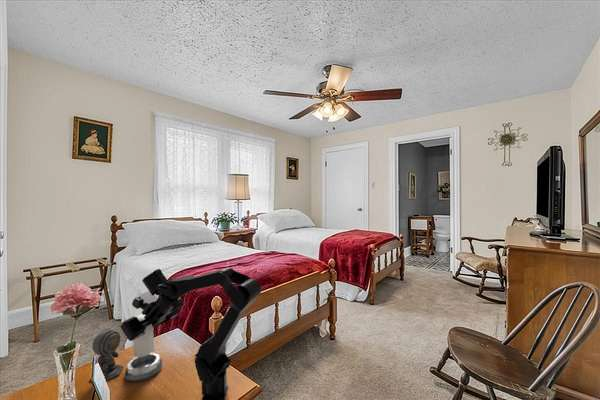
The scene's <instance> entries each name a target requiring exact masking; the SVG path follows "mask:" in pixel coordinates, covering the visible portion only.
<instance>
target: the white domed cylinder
mask: <svg viewBox="0 0 600 400" xmlns="http://www.w3.org/2000/svg"><path fill="white" fill-rule="evenodd" d="M144 316H145V315H143V314H142V313H141V314H138V315H136V316H135V317H137V318H138V320H139V321H143V320H145V318H144ZM146 324H147V323H146ZM144 325H145V324H144ZM144 332H145V334H144V335H142V336H140V337H138V338H136V339H134V340H133V341H132V343H133V356H134V358H135V357H144V356H147V355H149V354H151V353H154V352H155V345H154V344H155V343H154V339H155V338H154V327H153V326H152V325H149V326H148V327H146V329H145V330H144Z"/></svg>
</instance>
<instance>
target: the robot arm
mask: <svg viewBox="0 0 600 400" xmlns="http://www.w3.org/2000/svg"><path fill="white" fill-rule="evenodd" d="M141 281H142V283H143V285H144V286H145V287H146V289H147V290H148V291H146V292H142V293H140V294H138V296H137V295H136V297H134V299H132V302H131V305H132V307H133V308H135V309H136V310H138V309H141V310H142V311H141V315H142V314H143V315H145V316H144V318H145V320H143V321H139V320H138V318H137V317H136V316H132V317H130V318H128V319H125V320H124V321H123V322H122V323H121V324H120V329H121V331H122V332H123V333H124V335H125V336H126V338H127V340H128V341H129V342H130V341H131V342H133V340H134V339H136V338H138V337H140V336H142V335H144V334H145V332H144V330H145V329H146V327H148V326H149V325H152V326H153V328H156V327H159V326H161V325H163V324H165V323H167V322H169V321H170V320H171V319H173V318H174V319H175V317H177V316H178V315H179V314H180V308H181V307H184V304H185V303H184V301H183V298H181V297H183V296H184V295H186V294H188V293H191V292H192V291H197V290H200V289H204V288H209V287H213V286H217V285H219V286H221V287H222V290H223V291H224V293H225V295H226V296H227V297H228V298H229V308H228V309H227V311H226V313H225V314H224V316H223V319H222V320H221V322H220V323H219V326H218V328H217V329H216V331H215V333H214V335H213V336H211V337H210V338H208V339H207V340H206V341H205V342H203V343H202V344H201V345H199V348H198V350H197V352H196V354H195V355H194V357H195V358H194V365H195V369H196V373H197V376H198V377H197V378H198V379H199V382H201V395H202V397H201V398H202V399H201V400H225V399H226V398H225V397H226V394H227V390H228V386H229V383H228V382H227V381H228V380H227V378H228V377H227V369H229V368H230V366H231V362H232V361H231V358H230V357H229V356H228V355H227V354H226V351H227V347H226V345H227V342H228V341H229V340H230V338H231V335H232V334H233V332H234V331H235V329H236V327H237V325H238V323H239V322H240V321H241V318H242V317H243V314H244V313H245V311H246V310H247V309H248V308H249V307H250V306H251V305H252V304H253V303H254V302H255V301H256V300H257V299H258V298H259V296H260V295H261V293H262V288H261V284H260V282H259V281H257V280H256V279H255V278H254V279H253V278H252V277H250V276H248V275H247V274H244V273H241V272H239V271H236V270H235V269H233V268H232V267H229V266H228V267H225V268H223V269H219V270H215V271H212V272H207V273H204V274H203V273H202V274H200V275H196V276H195V275H192V274H191V275H190V274H189V275H187V274H186V275H181V276H180V277H177V278H173V279H170V280H168V278H167V277H166V276H165V275H164V273H163V272H162V270H161V269H160V268H157V269H155V270H153V272H151V273H149V274H148V275H146V276H145V277H143V279H142V280H141ZM236 285H237V286H236ZM157 296H158V297H157ZM146 323H147V324H146ZM144 324H145V325H144Z"/></svg>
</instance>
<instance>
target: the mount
mask: <svg viewBox="0 0 600 400" xmlns="http://www.w3.org/2000/svg"><path fill="white" fill-rule="evenodd" d="M162 369H163V360H162V359H161V358H160V354H158V353H156V352H152V353H151V354H149V355H147V356H144V357H135V356H134V358H132V359H131V360H130V361H129V362H127V368H126V369H125V372H124V378H125V380H126V381H128V382H129V383H140V382H144V381H147V380H150V379H152V378H154V377H155V376H157V375H158V374H159V372H161V370H162Z"/></svg>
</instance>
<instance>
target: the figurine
mask: <svg viewBox="0 0 600 400" xmlns="http://www.w3.org/2000/svg"><path fill="white" fill-rule="evenodd" d="M120 343H121V334H120V332H119V331H117V330H115V329H105V330H104V331H101V332H100V333H99V334H97V335H96V336H95V338H94V339H93V341H92V346H91V347H92V351H93V353H95V354H96V355H98V358H97V359H98V363H99V365H100V367H101V370H102V372H103V374H104V376H105V379H106V381H107V382H109V381H111V380H114V379H116V378H118V377H120V375H121V373H122V371H123V370H124V366H123V365H121V364H117V363H116V361H115V358H119V353H118V352H117V351H116V350H117V348H118V347H119V345H120ZM88 382H89V383H92V382H91V377H90V379H89V381H88Z"/></svg>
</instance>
